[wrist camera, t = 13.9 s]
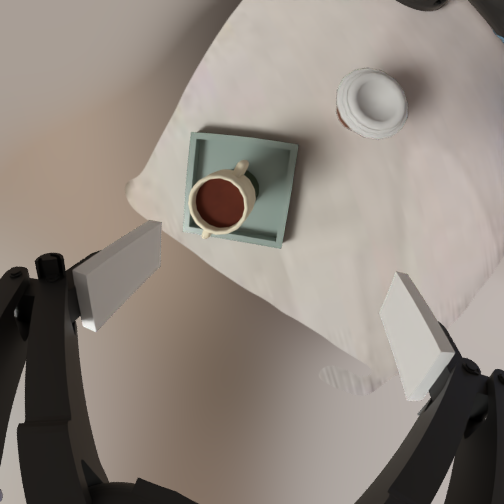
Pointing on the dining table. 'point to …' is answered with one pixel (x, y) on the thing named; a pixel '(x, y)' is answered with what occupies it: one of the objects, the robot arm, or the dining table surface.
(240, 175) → the character mug
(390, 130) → the coffee cup
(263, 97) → the dining table surface
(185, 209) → the tray
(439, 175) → the dining table surface
